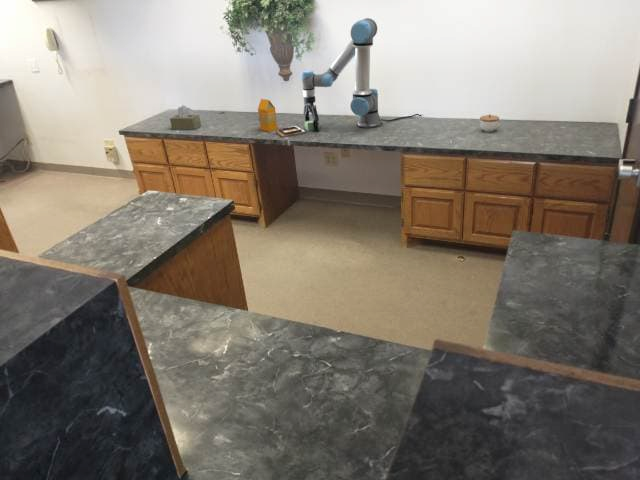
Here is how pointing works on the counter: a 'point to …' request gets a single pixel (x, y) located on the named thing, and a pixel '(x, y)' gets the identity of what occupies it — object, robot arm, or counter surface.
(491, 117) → the trinket box
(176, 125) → the tissue box
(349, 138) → the counter surface
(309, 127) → the pale green block
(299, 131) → the tan flat rectangular frame
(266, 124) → the orange juice
